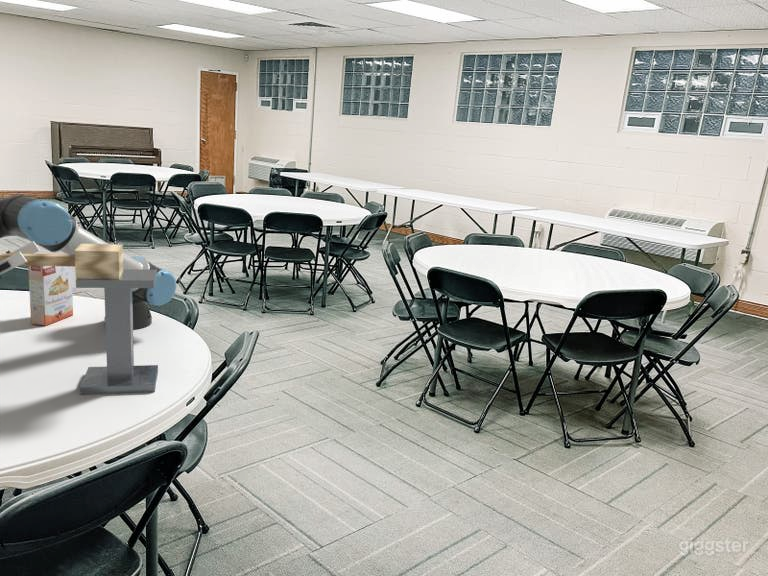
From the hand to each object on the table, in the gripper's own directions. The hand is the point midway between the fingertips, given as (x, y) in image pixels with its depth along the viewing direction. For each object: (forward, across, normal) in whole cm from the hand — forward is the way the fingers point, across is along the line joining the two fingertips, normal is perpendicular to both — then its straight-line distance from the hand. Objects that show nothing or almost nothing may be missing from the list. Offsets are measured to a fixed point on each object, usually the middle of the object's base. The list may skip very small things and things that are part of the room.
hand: (30, 250), depth 155 cm
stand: (-1, 0, -41) cm, 41 cm away
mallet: (+3, 0, -8) cm, 9 cm away
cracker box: (-25, -57, -27) cm, 68 cm away
